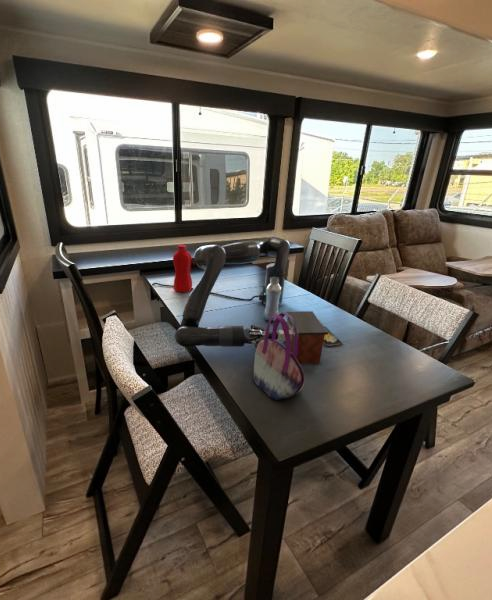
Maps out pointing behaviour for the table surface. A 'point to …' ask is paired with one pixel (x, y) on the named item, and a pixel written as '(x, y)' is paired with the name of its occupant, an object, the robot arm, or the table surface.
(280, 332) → the piano key
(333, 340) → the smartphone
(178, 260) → the water bottle
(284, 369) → the handbag
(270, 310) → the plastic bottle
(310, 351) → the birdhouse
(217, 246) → the robot arm
